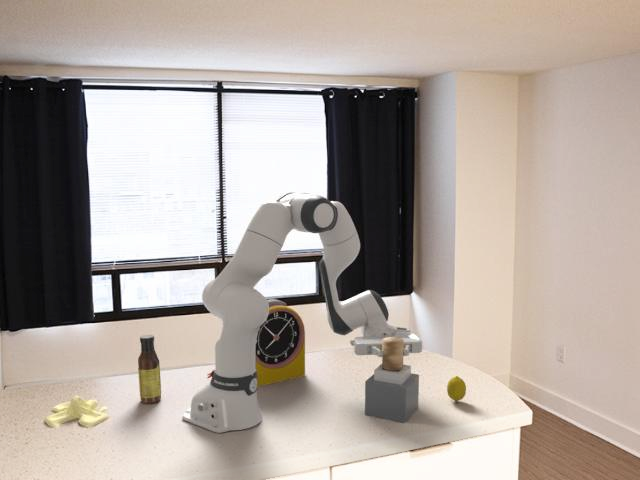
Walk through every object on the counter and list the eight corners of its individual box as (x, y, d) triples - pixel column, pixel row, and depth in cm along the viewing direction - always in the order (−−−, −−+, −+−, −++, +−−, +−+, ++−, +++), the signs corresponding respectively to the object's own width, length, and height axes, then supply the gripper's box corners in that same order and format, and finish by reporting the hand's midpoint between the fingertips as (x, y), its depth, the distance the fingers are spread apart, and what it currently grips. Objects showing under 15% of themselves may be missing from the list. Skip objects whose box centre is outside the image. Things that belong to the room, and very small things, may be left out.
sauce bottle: (165, 400, 186) (163, 336, 183) (147, 406, 181) (144, 341, 179) (153, 394, 190) (151, 332, 188) (135, 400, 186) (132, 336, 183)
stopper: (378, 379, 176) (379, 341, 174) (386, 373, 181) (386, 336, 179) (398, 382, 173) (399, 344, 171) (405, 376, 178) (406, 338, 177)
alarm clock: (249, 388, 196) (248, 307, 192) (237, 379, 203) (236, 301, 200) (306, 375, 207) (305, 298, 203) (292, 367, 215) (291, 293, 211)
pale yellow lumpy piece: (108, 428, 168) (107, 407, 167) (35, 434, 164) (34, 412, 164) (119, 397, 190) (118, 378, 189) (54, 401, 186) (53, 382, 185)
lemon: (465, 406, 182) (466, 380, 181) (446, 404, 183) (447, 378, 182) (465, 399, 187) (466, 373, 186) (446, 397, 188) (447, 372, 187)
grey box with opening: (364, 414, 176) (365, 371, 174) (379, 400, 186) (380, 358, 184) (405, 423, 170) (406, 378, 169) (418, 407, 181) (419, 364, 179)
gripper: (349, 330, 187) (357, 344, 173) (414, 328, 190) (428, 341, 176) (348, 350, 188) (357, 365, 174) (413, 348, 190) (427, 362, 177)
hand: (393, 353), depth 175 cm, fingers closed on stopper, 6 cm apart
